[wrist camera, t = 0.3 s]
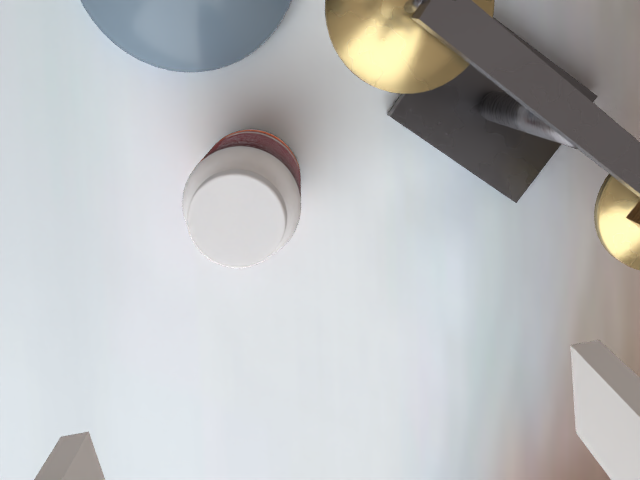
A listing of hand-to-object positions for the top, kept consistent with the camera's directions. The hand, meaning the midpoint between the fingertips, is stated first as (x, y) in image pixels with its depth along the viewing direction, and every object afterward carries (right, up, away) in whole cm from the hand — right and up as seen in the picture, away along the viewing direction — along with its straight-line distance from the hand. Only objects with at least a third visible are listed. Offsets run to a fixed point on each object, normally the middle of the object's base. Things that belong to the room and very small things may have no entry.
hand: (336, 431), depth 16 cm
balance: (+10, +14, +22) cm, 28 cm away
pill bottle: (-5, +9, +23) cm, 25 cm away
